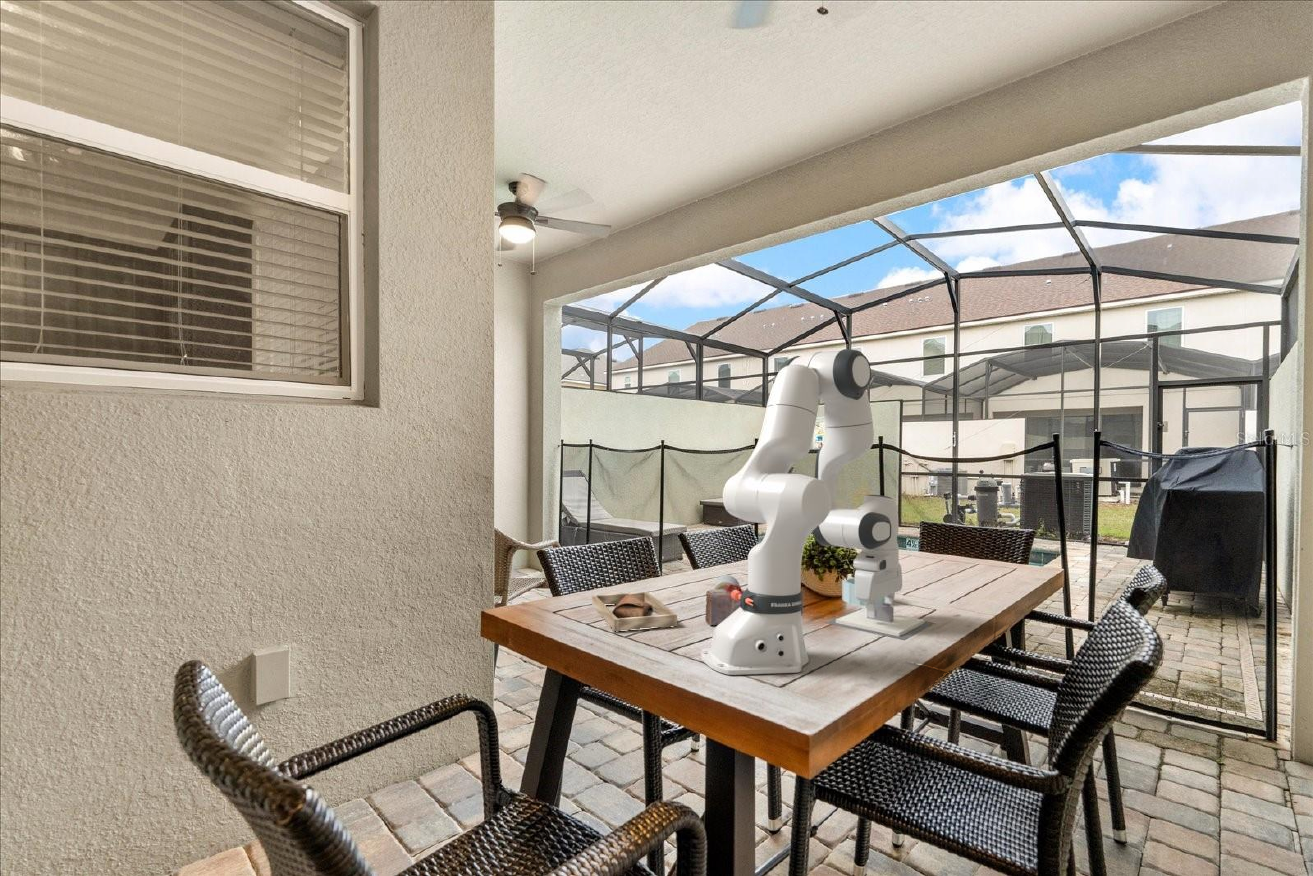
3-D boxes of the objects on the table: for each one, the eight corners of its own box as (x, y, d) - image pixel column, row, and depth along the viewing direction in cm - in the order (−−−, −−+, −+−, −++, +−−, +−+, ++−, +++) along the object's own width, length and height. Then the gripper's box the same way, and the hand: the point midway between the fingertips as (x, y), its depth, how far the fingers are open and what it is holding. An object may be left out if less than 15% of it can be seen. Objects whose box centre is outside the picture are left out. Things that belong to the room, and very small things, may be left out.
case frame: (614, 632, 143) (614, 619, 143) (592, 606, 168) (592, 595, 168) (677, 627, 148) (677, 615, 148) (646, 602, 173) (646, 591, 173)
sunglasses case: (644, 623, 149) (630, 599, 149) (619, 636, 149) (606, 613, 150) (653, 605, 167) (641, 584, 167) (631, 617, 167) (619, 596, 168)
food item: (755, 618, 157) (755, 581, 157) (763, 627, 149) (763, 587, 149) (703, 619, 155) (704, 581, 156) (709, 628, 147) (709, 588, 148)
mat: (904, 642, 137) (904, 640, 137) (824, 625, 151) (824, 622, 151) (935, 625, 151) (935, 623, 151) (860, 610, 165) (860, 608, 165)
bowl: (859, 609, 167) (859, 587, 167) (834, 599, 178) (834, 579, 179) (895, 606, 171) (895, 585, 171) (868, 596, 182) (868, 576, 182)
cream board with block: (899, 636, 140) (898, 618, 140) (835, 622, 151) (835, 605, 151) (924, 623, 151) (924, 605, 152) (864, 611, 163) (863, 595, 163)
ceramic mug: (712, 607, 168) (713, 579, 169) (713, 600, 176) (714, 573, 177) (750, 609, 167) (751, 581, 167) (750, 602, 175) (750, 575, 175)
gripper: (884, 552, 161) (885, 604, 161) (849, 562, 147) (849, 618, 146) (908, 555, 157) (908, 608, 157) (874, 565, 142) (875, 624, 142)
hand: (880, 613), depth 151 cm, fingers open, 8 cm apart
